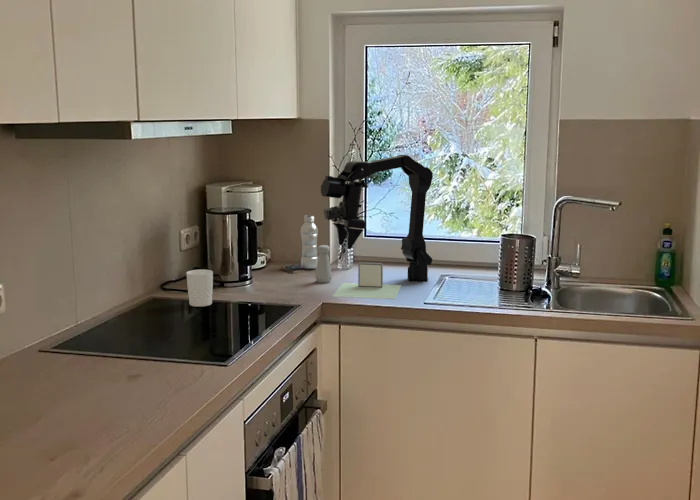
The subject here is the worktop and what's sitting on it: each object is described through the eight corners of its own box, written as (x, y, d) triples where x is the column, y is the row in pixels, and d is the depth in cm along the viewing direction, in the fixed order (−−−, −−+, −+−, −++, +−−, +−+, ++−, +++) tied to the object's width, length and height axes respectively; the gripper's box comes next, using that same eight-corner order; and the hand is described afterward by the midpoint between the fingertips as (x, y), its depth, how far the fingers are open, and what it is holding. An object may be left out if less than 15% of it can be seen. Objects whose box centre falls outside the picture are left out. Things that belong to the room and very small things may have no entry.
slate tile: (382, 286, 252) (382, 263, 251) (382, 287, 250) (382, 264, 249) (359, 285, 253) (359, 262, 252) (358, 286, 252) (358, 263, 250)
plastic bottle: (318, 270, 280) (318, 217, 277) (300, 270, 280) (299, 217, 277) (319, 267, 287) (318, 215, 283) (301, 267, 287) (301, 215, 283)
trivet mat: (401, 286, 254) (401, 285, 254) (395, 300, 235) (395, 299, 235) (343, 284, 257) (343, 283, 257) (332, 297, 238) (332, 296, 238)
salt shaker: (331, 284, 257) (331, 247, 254) (314, 284, 257) (314, 247, 254) (332, 281, 262) (332, 244, 260) (315, 280, 262) (315, 244, 260)
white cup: (185, 302, 232) (184, 270, 230) (210, 300, 235) (209, 268, 233) (190, 308, 224) (189, 275, 223) (216, 305, 228) (215, 273, 226)
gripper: (320, 194, 252) (313, 240, 254) (336, 199, 235) (329, 248, 236) (351, 198, 256) (344, 244, 257) (369, 203, 238) (362, 251, 240)
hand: (344, 246), depth 248 cm, fingers open, 9 cm apart
